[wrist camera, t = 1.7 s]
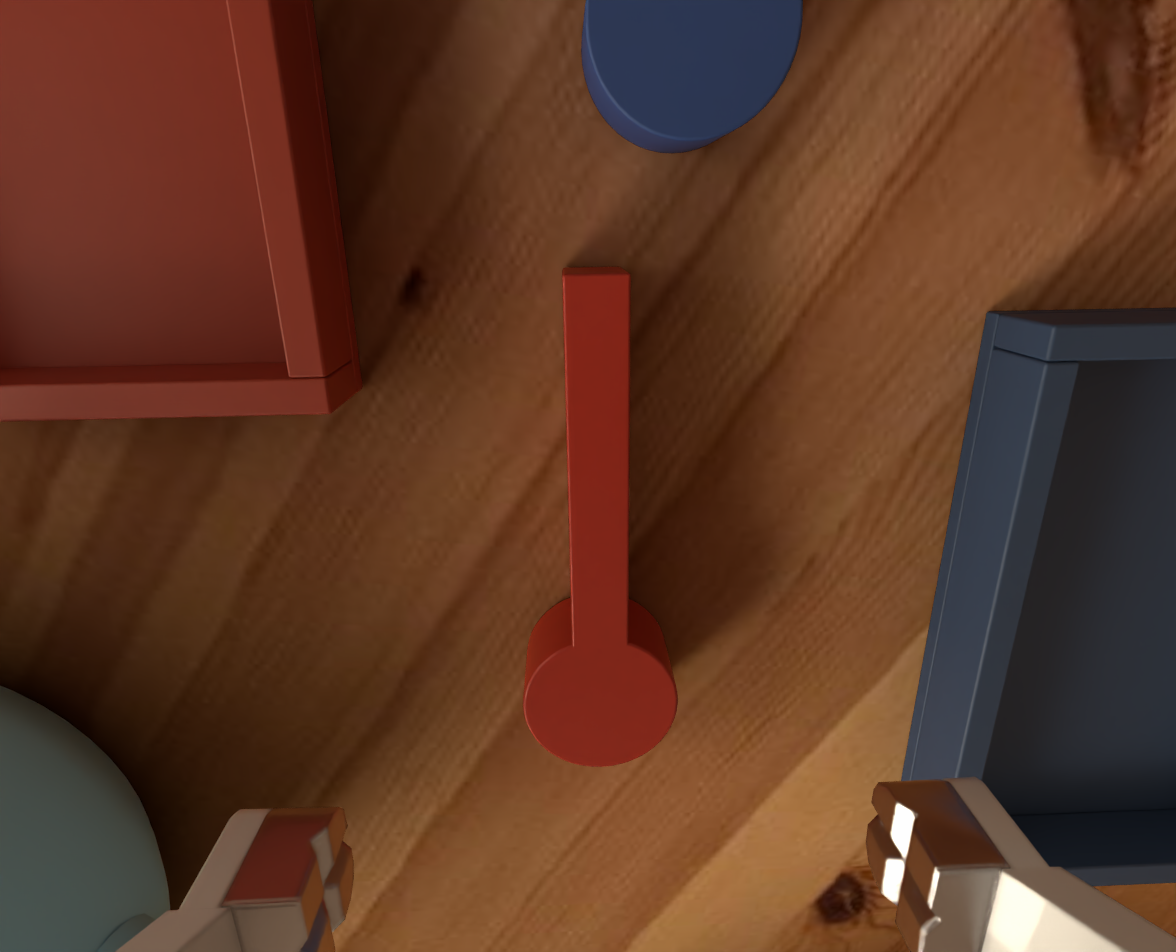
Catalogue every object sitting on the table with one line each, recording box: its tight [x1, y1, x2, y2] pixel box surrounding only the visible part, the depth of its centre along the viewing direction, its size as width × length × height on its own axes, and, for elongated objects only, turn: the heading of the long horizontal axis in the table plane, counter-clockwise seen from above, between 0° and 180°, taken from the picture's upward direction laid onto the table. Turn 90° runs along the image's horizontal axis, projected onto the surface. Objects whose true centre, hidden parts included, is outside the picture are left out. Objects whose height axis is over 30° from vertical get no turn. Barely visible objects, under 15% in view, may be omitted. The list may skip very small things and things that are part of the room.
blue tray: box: [901, 308, 1176, 886], centre depth 19 cm, size 17×11×2 cm, turn 1°
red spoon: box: [523, 267, 678, 767], centre depth 17 cm, size 13×4×2 cm, turn 1°
